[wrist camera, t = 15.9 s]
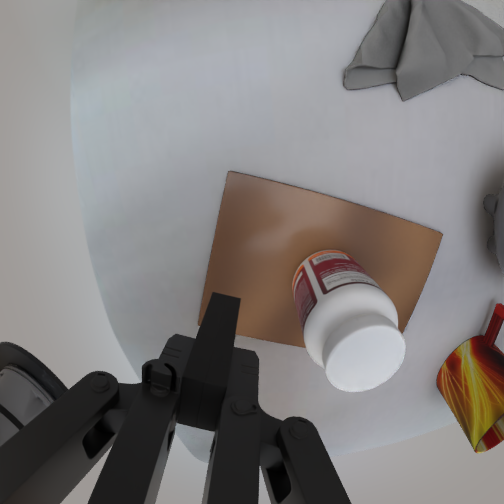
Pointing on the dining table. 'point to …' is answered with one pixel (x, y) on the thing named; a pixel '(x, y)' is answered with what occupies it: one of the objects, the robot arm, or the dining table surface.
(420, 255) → the cork mat
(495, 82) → the cloth
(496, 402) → the mug
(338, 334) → the pill bottle
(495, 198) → the piggy bank
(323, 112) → the dining table surface
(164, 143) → the dining table surface
